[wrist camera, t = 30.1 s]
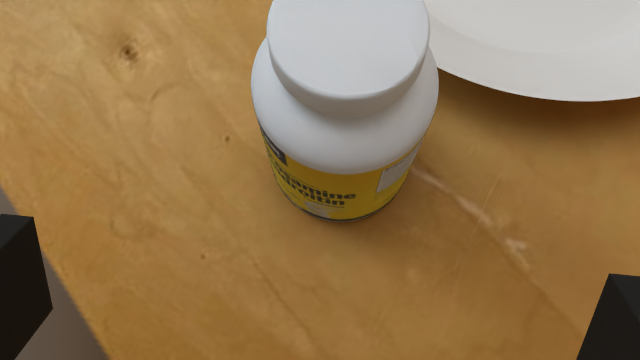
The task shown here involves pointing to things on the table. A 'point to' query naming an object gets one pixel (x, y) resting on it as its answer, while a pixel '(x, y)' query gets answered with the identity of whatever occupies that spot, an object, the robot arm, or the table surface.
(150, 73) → the table surface
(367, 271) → the table surface
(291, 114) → the pill bottle
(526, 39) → the white plate
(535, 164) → the table surface
